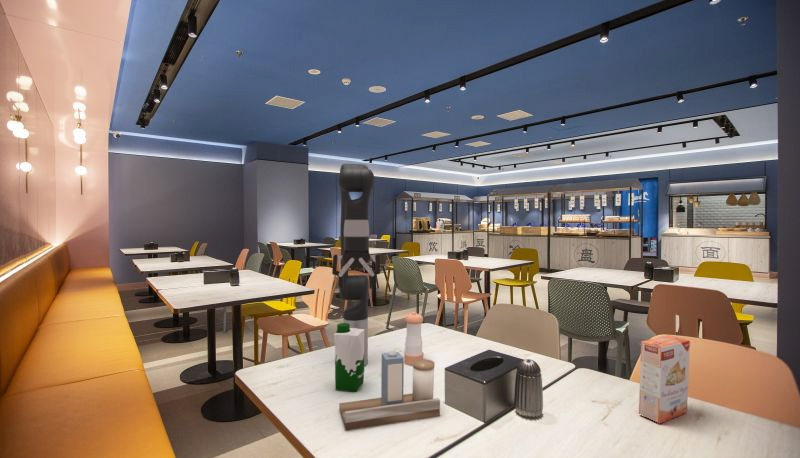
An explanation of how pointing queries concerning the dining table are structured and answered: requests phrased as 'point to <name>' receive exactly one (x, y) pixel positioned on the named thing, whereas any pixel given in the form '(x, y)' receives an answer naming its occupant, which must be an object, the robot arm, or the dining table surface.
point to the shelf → (386, 412)
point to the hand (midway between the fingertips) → (356, 288)
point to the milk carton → (349, 358)
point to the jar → (423, 380)
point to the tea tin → (392, 378)
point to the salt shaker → (413, 338)
